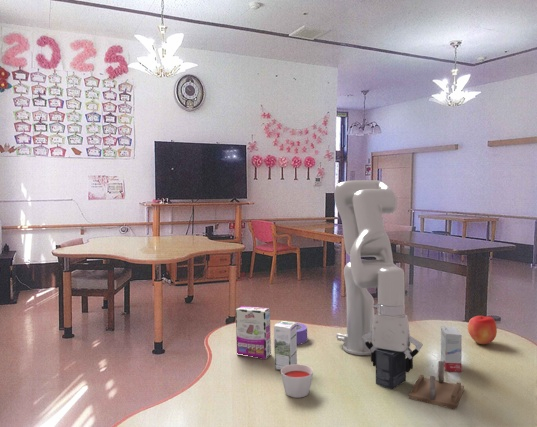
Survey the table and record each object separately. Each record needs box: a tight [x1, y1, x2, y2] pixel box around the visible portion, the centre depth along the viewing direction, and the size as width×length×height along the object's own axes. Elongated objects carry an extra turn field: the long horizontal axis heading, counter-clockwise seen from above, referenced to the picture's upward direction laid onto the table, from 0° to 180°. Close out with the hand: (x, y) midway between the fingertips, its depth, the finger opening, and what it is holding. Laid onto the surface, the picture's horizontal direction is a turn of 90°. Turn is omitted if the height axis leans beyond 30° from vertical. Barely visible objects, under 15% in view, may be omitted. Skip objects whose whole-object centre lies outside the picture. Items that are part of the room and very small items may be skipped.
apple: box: [467, 315, 498, 345], centre depth 162 cm, size 10×10×10 cm
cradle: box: [408, 360, 465, 410], centre depth 124 cm, size 12×13×7 cm
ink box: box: [440, 325, 463, 373], centre depth 142 cm, size 9×5×12 cm, turn 168°
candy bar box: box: [235, 305, 272, 360], centre depth 154 cm, size 11×5×16 cm, turn 68°
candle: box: [280, 363, 314, 399], centre depth 126 cm, size 9×9×6 cm
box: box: [375, 349, 407, 390], centre depth 131 cm, size 8×6×11 cm
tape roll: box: [295, 322, 308, 345], centre depth 169 cm, size 12×12×5 cm
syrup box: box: [273, 320, 298, 371], centre depth 142 cm, size 6×6×14 cm
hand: (391, 367), depth 130 cm, fingers open, 9 cm apart
